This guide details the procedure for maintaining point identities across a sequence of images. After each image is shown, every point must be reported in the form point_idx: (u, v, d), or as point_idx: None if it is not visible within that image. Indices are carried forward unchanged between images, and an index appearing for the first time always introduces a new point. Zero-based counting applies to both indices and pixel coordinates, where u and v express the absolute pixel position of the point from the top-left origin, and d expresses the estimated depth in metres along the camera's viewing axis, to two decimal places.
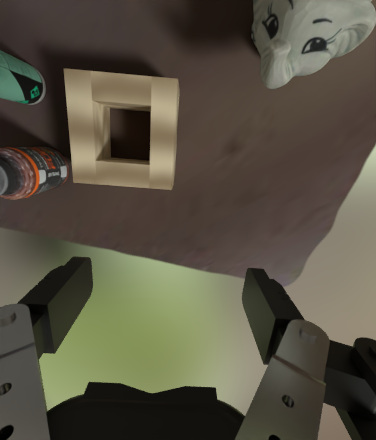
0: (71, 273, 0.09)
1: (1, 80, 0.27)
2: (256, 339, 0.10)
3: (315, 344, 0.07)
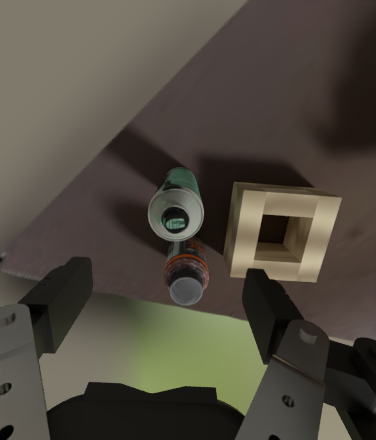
0: (71, 273, 0.09)
1: None
2: (256, 339, 0.10)
3: (315, 344, 0.07)
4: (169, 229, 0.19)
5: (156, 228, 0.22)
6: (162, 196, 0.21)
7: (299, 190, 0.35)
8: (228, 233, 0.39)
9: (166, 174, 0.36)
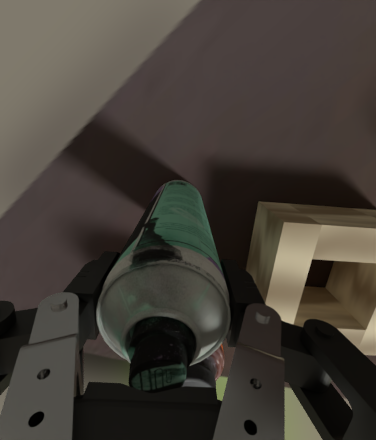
0: (106, 266, 0.10)
1: None
2: None
3: (266, 324, 0.07)
4: None
5: (118, 348, 0.09)
6: (129, 281, 0.08)
7: (364, 217, 0.22)
8: None
9: (156, 192, 0.23)
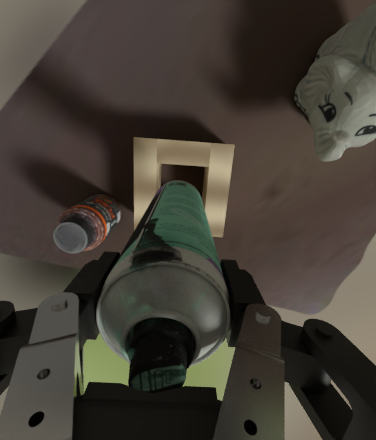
0: (106, 266, 0.10)
1: None
2: None
3: (267, 324, 0.07)
4: None
5: (118, 349, 0.09)
6: (129, 282, 0.08)
7: None
8: None
9: (156, 192, 0.23)
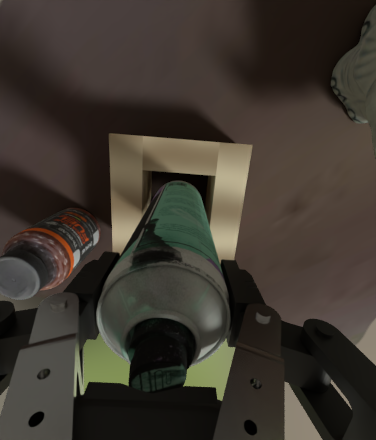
0: (106, 266, 0.10)
1: None
2: None
3: (266, 324, 0.07)
4: None
5: (118, 350, 0.09)
6: (129, 283, 0.08)
7: None
8: None
9: None
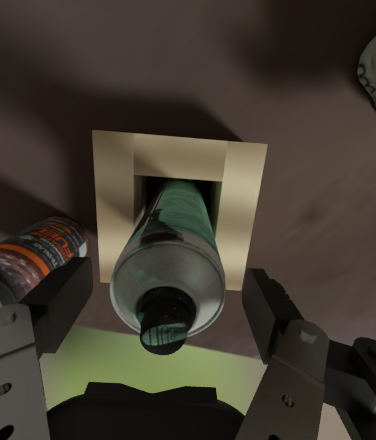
0: (71, 273, 0.09)
1: None
2: (256, 339, 0.10)
3: (315, 344, 0.07)
4: (151, 347, 0.08)
5: (128, 319, 0.10)
6: (138, 259, 0.09)
7: None
8: None
9: (159, 188, 0.24)
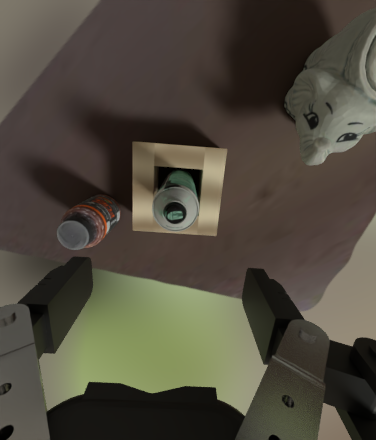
0: (71, 273, 0.09)
1: None
2: (256, 339, 0.10)
3: (315, 344, 0.07)
4: (170, 220, 0.23)
5: (159, 220, 0.26)
6: (164, 193, 0.25)
7: (195, 146, 0.37)
8: None
9: (167, 175, 0.40)
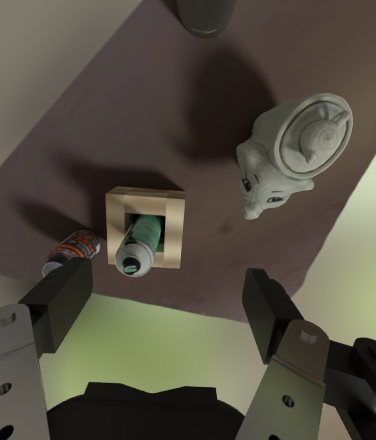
0: (71, 273, 0.09)
1: None
2: (256, 339, 0.10)
3: (315, 344, 0.07)
4: (126, 272, 0.30)
5: (120, 269, 0.32)
6: (123, 249, 0.31)
7: (161, 193, 0.43)
8: None
9: None
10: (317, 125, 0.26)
